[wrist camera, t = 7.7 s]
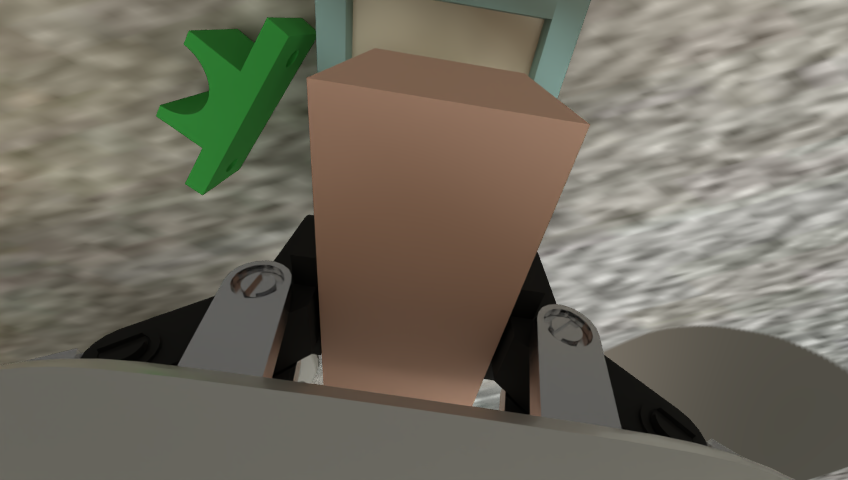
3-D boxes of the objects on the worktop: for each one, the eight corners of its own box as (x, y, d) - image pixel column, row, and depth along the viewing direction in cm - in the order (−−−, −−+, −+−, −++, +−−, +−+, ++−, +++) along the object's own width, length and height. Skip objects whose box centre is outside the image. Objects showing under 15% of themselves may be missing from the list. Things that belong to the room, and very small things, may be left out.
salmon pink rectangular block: (524, 73, 9) (589, 124, 5) (453, 325, 14) (453, 449, 10) (374, 48, 9) (306, 77, 5) (362, 311, 14) (326, 431, 10)
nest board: (493, 251, 27) (497, 270, 25) (333, 227, 26) (323, 245, 24) (577, -10, 17) (595, -15, 15) (329, -54, 17) (312, -65, 15)
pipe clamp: (262, -21, 18) (212, -33, 14) (320, 33, 19) (289, 35, 15) (190, 134, 23) (138, 156, 19) (240, 169, 24) (201, 196, 20)
